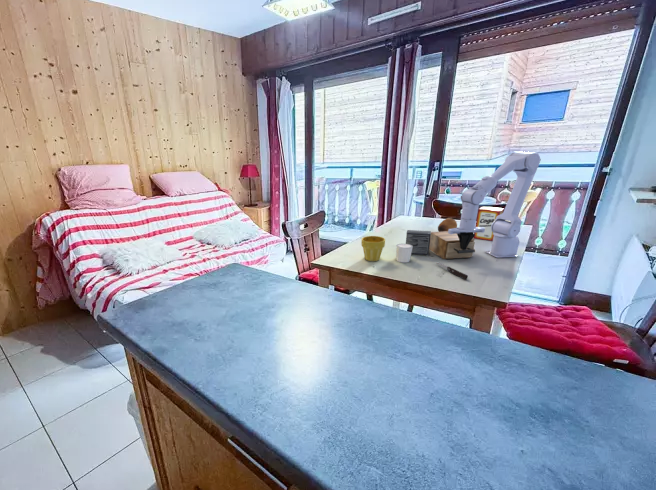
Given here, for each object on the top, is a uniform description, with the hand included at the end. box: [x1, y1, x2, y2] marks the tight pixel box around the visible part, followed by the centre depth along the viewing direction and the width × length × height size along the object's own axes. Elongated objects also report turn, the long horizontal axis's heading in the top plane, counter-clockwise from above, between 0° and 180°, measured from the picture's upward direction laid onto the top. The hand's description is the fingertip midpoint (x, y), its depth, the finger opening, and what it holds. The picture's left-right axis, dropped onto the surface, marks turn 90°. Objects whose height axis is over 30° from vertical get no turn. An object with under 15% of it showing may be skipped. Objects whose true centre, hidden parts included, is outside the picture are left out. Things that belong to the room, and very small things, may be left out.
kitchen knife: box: [434, 262, 469, 281], centre depth 133 cm, size 18×1×2 cm, turn 12°
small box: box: [405, 229, 432, 256], centre depth 155 cm, size 11×6×10 cm, turn 65°
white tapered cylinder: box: [395, 243, 413, 263], centre depth 147 cm, size 7×7×7 cm
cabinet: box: [429, 231, 475, 260], centre depth 152 cm, size 15×13×9 cm
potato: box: [437, 217, 458, 232], centre depth 181 cm, size 8×13×8 cm
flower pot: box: [360, 235, 386, 262], centre depth 151 cm, size 10×10×10 cm
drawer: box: [445, 241, 476, 259], centre depth 148 cm, size 18×11×7 cm, turn 1°
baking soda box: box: [473, 206, 505, 242], centre depth 168 cm, size 10×6×16 cm
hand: (463, 249), depth 142 cm, fingers closed
